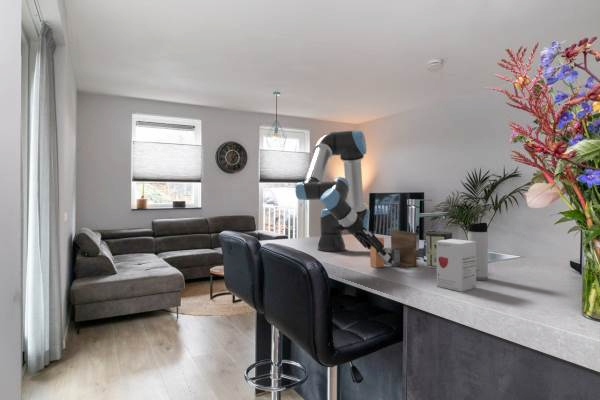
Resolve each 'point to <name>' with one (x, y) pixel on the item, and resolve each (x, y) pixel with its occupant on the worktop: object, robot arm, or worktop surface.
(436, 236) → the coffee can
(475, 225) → the travel mug
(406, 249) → the backboard
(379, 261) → the upright wooden block
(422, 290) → the worktop surface
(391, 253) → the grey thick square slab
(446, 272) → the supplement box
